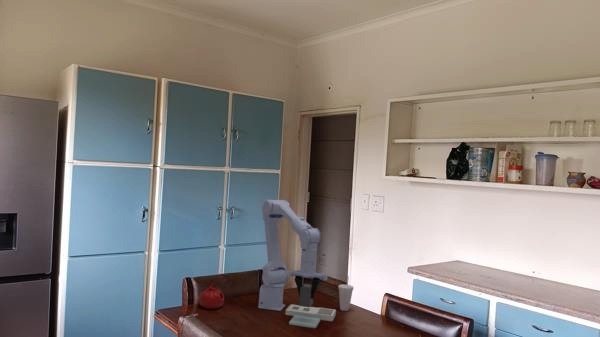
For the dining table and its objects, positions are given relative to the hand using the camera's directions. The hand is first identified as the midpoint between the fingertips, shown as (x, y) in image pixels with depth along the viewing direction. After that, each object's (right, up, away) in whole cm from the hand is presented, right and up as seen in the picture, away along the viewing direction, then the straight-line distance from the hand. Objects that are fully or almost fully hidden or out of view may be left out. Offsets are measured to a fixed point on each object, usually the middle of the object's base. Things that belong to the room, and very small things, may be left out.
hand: (306, 297), depth 163 cm
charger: (0, -3, 0) cm, 3 cm away
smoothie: (+16, -11, +20) cm, 28 cm away
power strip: (+3, -10, +9) cm, 14 cm away
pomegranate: (-38, -7, +12) cm, 40 cm away
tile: (-1, -9, 0) cm, 9 cm away
